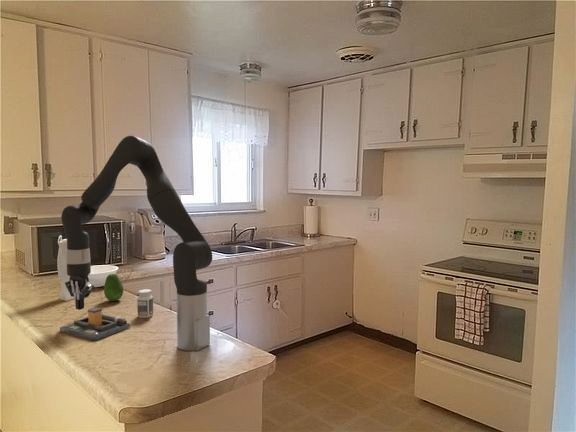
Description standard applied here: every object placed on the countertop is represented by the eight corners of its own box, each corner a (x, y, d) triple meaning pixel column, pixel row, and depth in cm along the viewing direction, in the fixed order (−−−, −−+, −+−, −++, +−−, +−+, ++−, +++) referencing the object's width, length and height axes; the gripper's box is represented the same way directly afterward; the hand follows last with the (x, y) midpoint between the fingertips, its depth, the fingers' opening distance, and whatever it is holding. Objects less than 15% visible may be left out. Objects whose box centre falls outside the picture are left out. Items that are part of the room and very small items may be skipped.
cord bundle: (127, 323, 143) (127, 317, 143) (121, 325, 141) (121, 319, 141) (96, 316, 150) (96, 310, 150) (90, 318, 148) (90, 312, 148)
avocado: (101, 300, 175) (100, 273, 174) (119, 297, 181) (118, 271, 180) (108, 304, 169) (107, 276, 169) (126, 301, 175) (126, 274, 174)
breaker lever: (102, 324, 141) (101, 308, 141) (94, 327, 138) (93, 311, 138) (96, 322, 143) (95, 307, 142) (88, 325, 140) (87, 309, 139)
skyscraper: (54, 299, 177) (51, 236, 175) (70, 295, 183) (68, 234, 181) (65, 301, 173) (63, 237, 171) (81, 297, 180) (79, 235, 178)
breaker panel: (129, 327, 143) (129, 320, 143) (95, 340, 130) (95, 332, 130) (95, 319, 151) (95, 312, 151) (59, 331, 138) (59, 323, 138)
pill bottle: (148, 312, 160) (147, 288, 159) (156, 315, 156) (155, 290, 155) (134, 316, 155) (134, 290, 155) (142, 319, 152) (142, 293, 151)
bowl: (126, 281, 212) (126, 265, 211) (104, 291, 191) (103, 274, 190) (88, 279, 214) (88, 264, 213) (62, 289, 193) (62, 273, 192)
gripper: (100, 261, 143) (101, 309, 144) (76, 257, 149) (77, 303, 150) (81, 265, 136) (82, 314, 138) (56, 261, 142) (58, 308, 144)
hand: (79, 308), depth 144 cm, fingers closed
